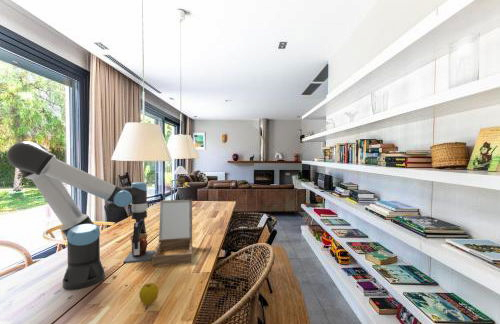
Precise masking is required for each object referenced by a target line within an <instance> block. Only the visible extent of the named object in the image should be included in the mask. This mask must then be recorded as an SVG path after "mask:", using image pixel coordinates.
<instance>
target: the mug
mask: <svg viewBox="0 0 500 324" xmlns="http://www.w3.org/2000/svg"><path fill="white" fill-rule="evenodd" d="M147 238H148V234H147V233H145V234H140V238H139V242H140V254H139V255H134V243H132V241H133V234H132V235H131V236H130V237H129V239H130V241H131V251H130V252H132V255H133V256H135V257H139V256H143V255H144V254H145V253H146V251H148V250H147V248H148V240H147Z"/></svg>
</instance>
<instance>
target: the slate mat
mask: <svg viewBox="0 0 500 324" xmlns="http://www.w3.org/2000/svg"><path fill="white" fill-rule="evenodd" d="M154 252H155V250H154V249H151V250H146V253H145V254H144V255H143V256H139V257H135V256H133V255H132V252H131V251H130V252H129V253H128V254H127V256H126V257H125V259H123V264H128V263H129V264H130V263H139V262H141V263H142V262H150V261H151V262H152V256H153V254H154Z"/></svg>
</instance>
